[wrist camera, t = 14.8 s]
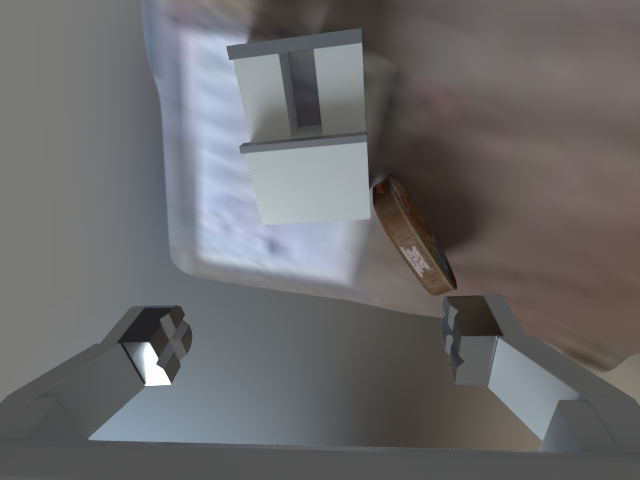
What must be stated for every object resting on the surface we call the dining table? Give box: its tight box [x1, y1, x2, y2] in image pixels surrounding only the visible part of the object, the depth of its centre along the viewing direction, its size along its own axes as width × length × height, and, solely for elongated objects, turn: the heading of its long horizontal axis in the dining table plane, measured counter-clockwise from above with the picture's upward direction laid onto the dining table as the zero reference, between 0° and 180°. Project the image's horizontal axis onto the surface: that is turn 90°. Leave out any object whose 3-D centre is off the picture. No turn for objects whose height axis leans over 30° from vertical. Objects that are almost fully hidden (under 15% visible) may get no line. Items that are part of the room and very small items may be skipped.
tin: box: [373, 175, 457, 296], centre depth 37 cm, size 15×3×8 cm, turn 36°
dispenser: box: [226, 28, 370, 225], centre depth 32 cm, size 11×16×8 cm
